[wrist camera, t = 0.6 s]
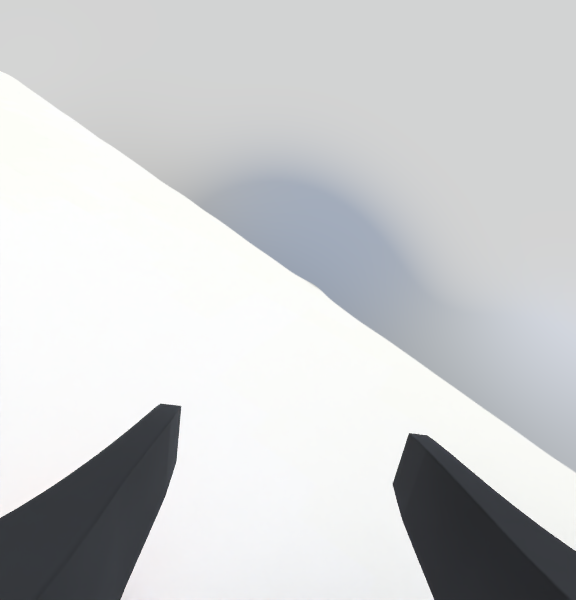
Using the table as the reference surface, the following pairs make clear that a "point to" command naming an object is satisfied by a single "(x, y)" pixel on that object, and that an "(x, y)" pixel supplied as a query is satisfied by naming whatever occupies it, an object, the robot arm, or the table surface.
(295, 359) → the table surface
